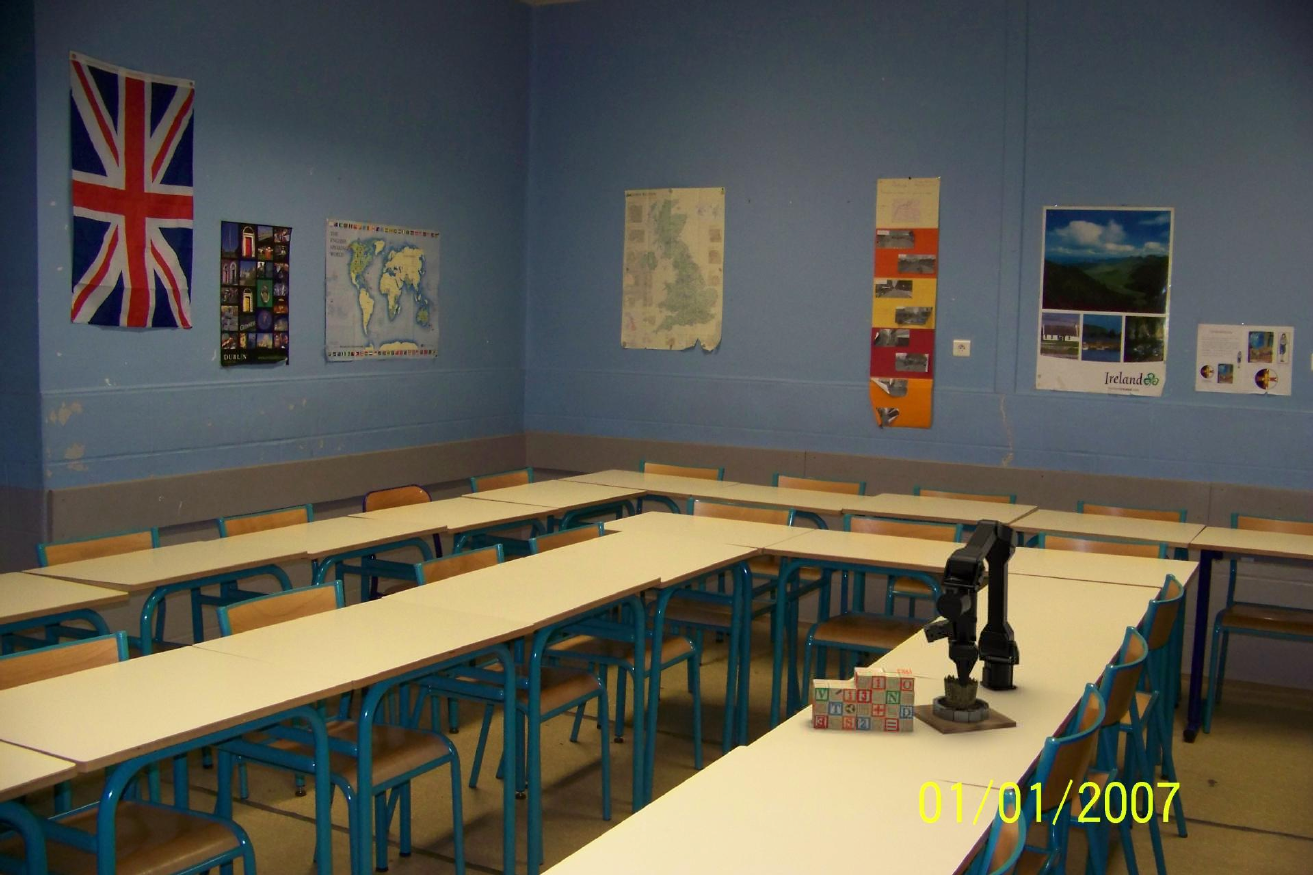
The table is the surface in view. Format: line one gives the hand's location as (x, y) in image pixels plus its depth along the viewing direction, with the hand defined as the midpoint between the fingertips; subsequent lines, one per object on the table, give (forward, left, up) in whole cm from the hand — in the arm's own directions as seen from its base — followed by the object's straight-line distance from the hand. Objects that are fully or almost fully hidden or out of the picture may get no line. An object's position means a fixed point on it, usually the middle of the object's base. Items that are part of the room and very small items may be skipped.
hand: (961, 679), depth 262 cm
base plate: (0, 0, -9) cm, 9 cm away
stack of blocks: (+23, -2, -9) cm, 25 cm away
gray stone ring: (0, 0, -9) cm, 9 cm away
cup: (0, 0, -8) cm, 8 cm away
